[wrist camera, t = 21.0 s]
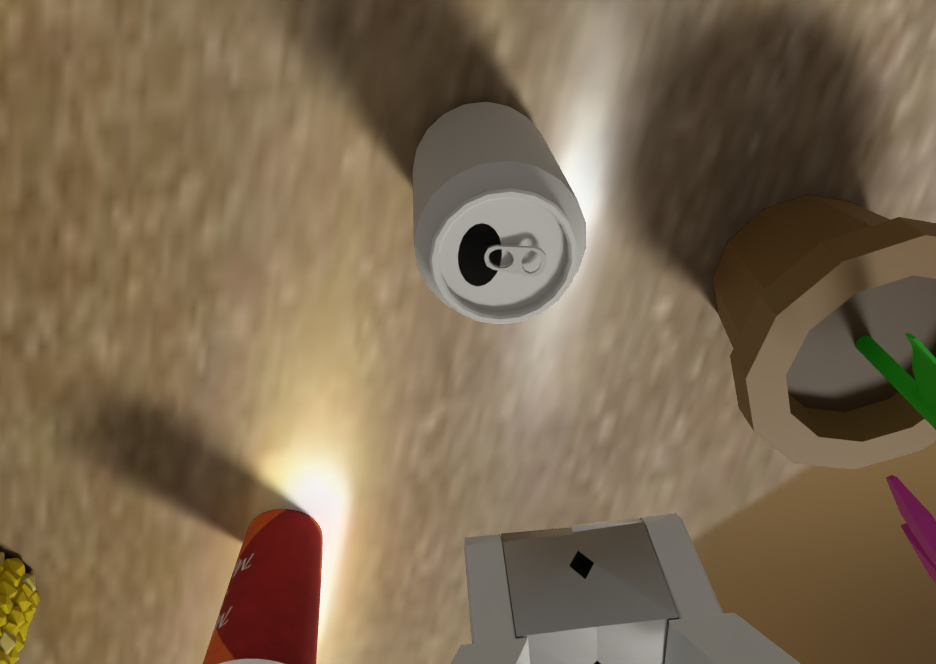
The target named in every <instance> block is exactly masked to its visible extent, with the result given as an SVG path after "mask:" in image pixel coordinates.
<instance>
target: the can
mask: <svg viewBox="0 0 936 664" xmlns="http://www.w3.org/2000/svg"><path fill="white" fill-rule="evenodd" d="M413 219H414V248H415V254H416V261H417V267H418V269H419V271H420V273H421V275H422V277H423V279H424V281H425V282H426V284H427V286H428V288H429V289H430V290H431V291H432V292H433V293H434V294H435V295H436V296H437V297H438V298H439V299H440V300H441V301H443V302H444V303H445V304H446V305H447V306H449V307H451V308H453V309H455V310H456V311H457V312H458V313H460V314H463V315H465V316H467V317H469V318H471V319H473V320H475V321H479V322H486V323H492V324H506V323H514V322H521V321H524V320H526V319H529V318H531V317H534V316H536V315H538V314H541V313H542V312H544V311H545V310H546V309H548V308H549V307H550V306H552V305H553V304H554V303H555V302H557V301H558V300H559V299H560V298H561V296H562V295H563V294H564V292H565V291H566V289H567V288H568V287H569V285H570V284H571V283H572V280H573V277H574V276H575V275H576V273H577V272H578V270H579V267H580V264H581V261H582V258H583V255H584V252H585V249H586V222H585V220H584V217H583V214H582V212H581V209H580V206H579V204H578V201H577V199H576V197H575V195H574V193H573V191H572V189H571V187H570V186H569V184H568V182H567V180H566V178H565V176H564V175H563V173H562V171H561V169H560V167H559V165H558V164H557V162H556V160H555V158H554V156H553V154H552V153H551V151H550V149H549V147H548V145H547V143H546V141H545V140H544V138H543V136H542V134H541V133H540V132H539V130H538V129H537V128H536V127H535V126H534V124H533V123H532V122H531V121H530V120H529V119H528V117H526V116H524V115H523V114H521V113H519V112H518V111H516V110H514V109H513V108H511V107H509V106H505V105H500V104H496V103H491V102H480V103H471V104H464V105H462V106H460V107H458V108H455V109H453V110H451V111H449V112H447V113H445V114H443V115H442V116H441V117H440V118H439V119H438V120H437V121H436V122H434V123H433V124H432V125H431V126H430V127H429V128H428V129H427V131H426V132H425V134H424V136H423V138H422V140H421V142H420V143H419V145H418V147H417V149H416V155H415V160H414V166H413Z"/></svg>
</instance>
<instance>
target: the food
mask: <svg viewBox="0 0 936 664" xmlns="http://www.w3.org/2000/svg"><path fill="white" fill-rule="evenodd" d="M39 600H40V597H39V594H38V592H37V590H36V582H35V574H28V573H25V566H24V564H23V563H22V561H21V560H20V559H19V558H9V559H6V560H5V556H4V553H3V552H0V664H14V663H15V662H16V661H17V660H18V659H19V655H18V652H19V651H20V650H21V649H22V648H23V647H24V646H25V645H24V641H25V640H26V638H27V637H26V635H27V631H28V625H29V624H30V622H31V620H32V618H33V613H35V612H36V608H37V607H36V604H37V603H38V602H39Z"/></svg>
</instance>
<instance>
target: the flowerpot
mask: <svg viewBox="0 0 936 664" xmlns="http://www.w3.org/2000/svg"><path fill="white" fill-rule="evenodd" d="M712 282H713V288H714V294H715V299H716V305H717V311H718V315H719V317H720V319H721V321H722V324H723V326H724V328H725V330H726V333H727V335H728V337H729V339H730V342H731V344H732V346H733V348H734V349H733V351H732V353H731V355H730V358H731V364H732V370H733V376H734V382H735V388H736V394H737V400H738V406H739V409H740V410H741V412H742V413H743V415H744V417H745V418H746V420H747V421H748V423H749V424H750V426H751V428H752V429H753V431H754V432H755V433H756V434H758V435H759V436H760V437H761V438H763V439H764V440H765V441H767V442H768V443H769V444H770V445H772V446H773V447H774V448H775V449H777V450H778V451H779V452H780V453H782V454H783V455H784V456H785V457H787V458H788V459H789V460H790V461H792V462H793V463H796V464H806V465H815V466H825V467H834V468H844V469H853V470H854V469H858V468H861V467H865V466H868V465H872V464H875V463H878V462H882V461H885V460H889V459H893V458H896V457H899V456H903V455H907V454H910V453H914V452H917V451H920V450H923V449H924V448H925V447H927V446H928V445H930V444H931V443H933V442H934V441H936V223H930V222H925V221H919V220H913V219H907V218H901V217H898V218H895V219H891V220H890V219H887V218H885V217H883V216H880V215H878V214H876V213H874V212H871V211H869V210H867V209H864V208H862V207H860V206H858V205H855V204H853V203H851V202H849V201H843V200H837V199H832V198H826V197H820V196H814V195H805V196H802V197H799V198H796V199H793V200H790V201H787V202H784V203H781V204H778V205H775V206H772V207H769V208H766V209H763V210H762V211H761V212H760V213H759V214H758V215H757V216H756V217H754V218H753V219H752V220H751V221H750V222H749V223H748V224H747V225H745V226H744V227H743V228H742V229H741V230H740V231H739V232H738V233H737V234H735V235H734V236H733V237H732V238H731V239H730V240H729V241H728V243H727V245H726V247H725V250H724V252H723V255H722V257H721V259H720V262H719V264H718V266H717V269H716V271H715V274H714V276H713V278H712ZM886 479H887V482H888V484H889V487H890V489H891V492H892V494H893V497H894V499H895V501H896V504H897V506H898V509H899V511H900V514H901V515H902V517H903V518H904V520H905V521H906V523H907V524H903V525H901V527H902V529H903V531H904V532H905V534H906V536H907V538H908V539H909V541H910V543H911V544H912V547H913V548H914V550H915V552H916V553H917V555H918V557H919V559H920V560H921V562H922V564H923V566H924V567H925V569H926V571H927V572H928V574H929V576H930V577H931V578H932V580H933V581H934V582H935V583H936V521H935V519H934V518H933V516H932V515H931V514H930V513H929V511H928V510H927V509H926V508H925V507H924V506H923V505H922V504H921V503H920V502H919V501H918V500H917V498H916V497H914V495H913V494H912V493H911V492H910V491H909V490H908V489H907V488H906V487H905V486H904V485H903V483H902V482H901V481H900V480H899V479H898V478H897V477H895V476H892V475H891V476H889V477H887V478H886Z"/></svg>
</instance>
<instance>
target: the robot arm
mask: <svg viewBox="0 0 936 664" xmlns="http://www.w3.org/2000/svg"><path fill="white" fill-rule="evenodd" d="M464 551H465V564H466V576H467V588H468V600H469V612H470V624H471V637H472V644H467V645H461V647H460V648H459V650H458V652H457V654H456V655H455V657H454V659H453V661H452V663H451V664H800V663H799V662H798V661H796V660H795V659H794V658H792V657H791V656H790V655H788V654H787V653H786V652H785V651H783V650H782V649H781V648H779V647H778V646H777V645H775V644H774V643H773V642H772V641H770V640H769V639H768V638H766V637H765V636H764V635H763V634H761V633H760V632H759V631H757V630H756V629H755V628H753V627H752V626H751V625H749V624H748V623H747V622H746V621H744V620H743V619H742V618H740V617H739V616H738V615H737V614H735V613H728V614H723V612H722V610H721V607H720V606H719V603H718V601H717V598H716V596H715V594H714V592H713V589H712V587H711V585H710V582H709V580H708V578H707V576H706V573H705V571H704V569H703V566H702V564H701V562H700V560H699V557H698V555H697V553H696V550H695V549H694V546H693V544H692V541H691V539H690V537H689V534H688V532H687V530H686V528H685V525H684V523H683V521H682V519H681V518H680V517H679V516H678V515H677V514H676V513H675V514H667V515H659V516H650V517H642V518H640V519H639V518H630V519H622V520H615V521H607V522H599V523H591V524H584V525H576V526H570V527H569V528H558V529H547V530H536V531H525V532H514V533H503V534H501V536H500V534H497V535H487V536H477V537H467V538H465V544H464Z"/></svg>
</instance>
